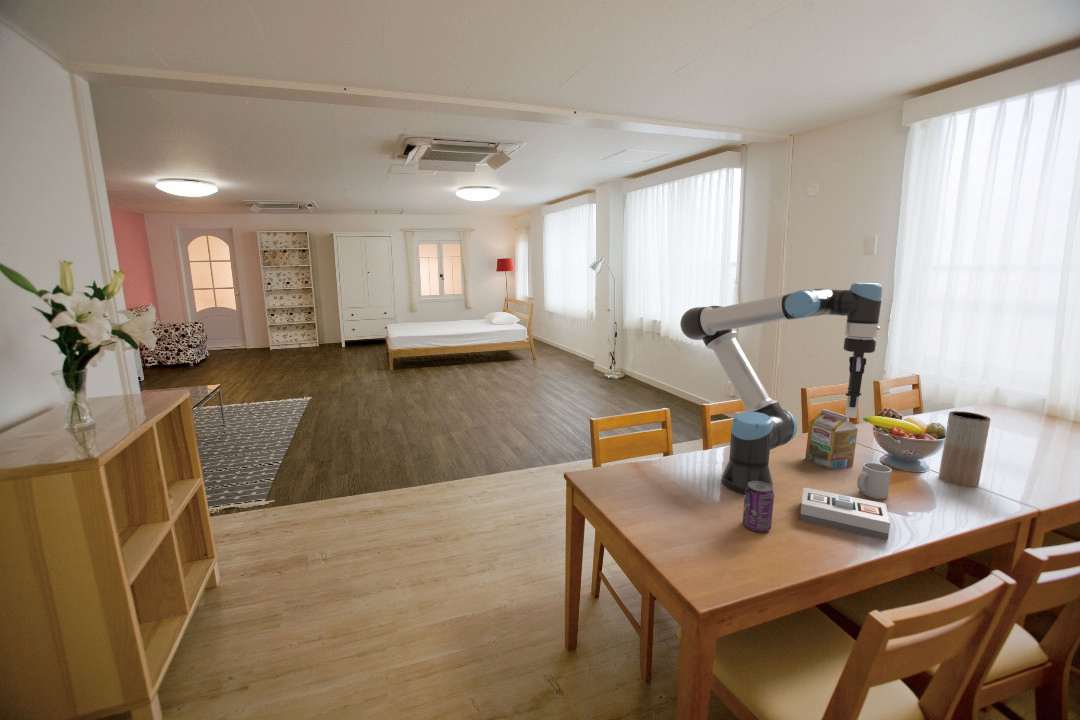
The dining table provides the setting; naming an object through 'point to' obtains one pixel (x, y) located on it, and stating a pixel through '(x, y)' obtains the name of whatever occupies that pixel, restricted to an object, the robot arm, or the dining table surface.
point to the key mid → (843, 501)
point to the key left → (818, 499)
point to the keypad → (845, 515)
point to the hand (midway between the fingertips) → (850, 416)
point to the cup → (874, 480)
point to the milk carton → (831, 440)
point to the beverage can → (758, 506)
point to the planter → (964, 448)
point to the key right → (869, 509)
